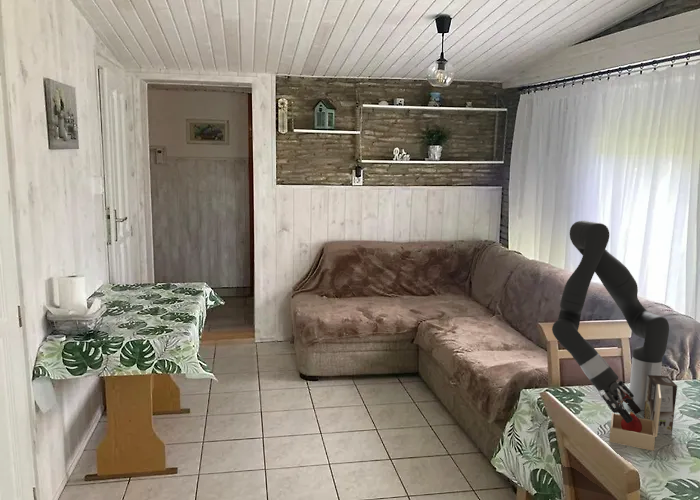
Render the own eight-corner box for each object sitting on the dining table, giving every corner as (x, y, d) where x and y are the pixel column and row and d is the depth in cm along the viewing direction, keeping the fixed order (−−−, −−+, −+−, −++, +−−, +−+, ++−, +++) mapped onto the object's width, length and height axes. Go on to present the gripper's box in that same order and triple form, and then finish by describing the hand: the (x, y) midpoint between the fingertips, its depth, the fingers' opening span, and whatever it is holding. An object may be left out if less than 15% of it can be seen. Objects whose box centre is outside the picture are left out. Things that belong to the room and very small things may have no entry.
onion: (639, 434, 180) (641, 410, 179) (642, 442, 175) (644, 417, 174) (619, 431, 182) (621, 407, 181) (621, 439, 177) (623, 414, 176)
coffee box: (672, 435, 181) (678, 386, 179) (650, 432, 182) (655, 384, 180) (663, 422, 190) (668, 375, 187) (642, 420, 191) (646, 373, 189)
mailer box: (610, 426, 187) (615, 377, 184) (654, 434, 181) (659, 384, 179) (609, 441, 176) (614, 390, 173) (655, 451, 170) (661, 398, 168)
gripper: (600, 372, 176) (638, 419, 170) (615, 360, 186) (650, 404, 181) (581, 384, 180) (617, 430, 174) (597, 372, 191) (631, 415, 185)
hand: (634, 417), depth 177 cm, fingers open, 8 cm apart
